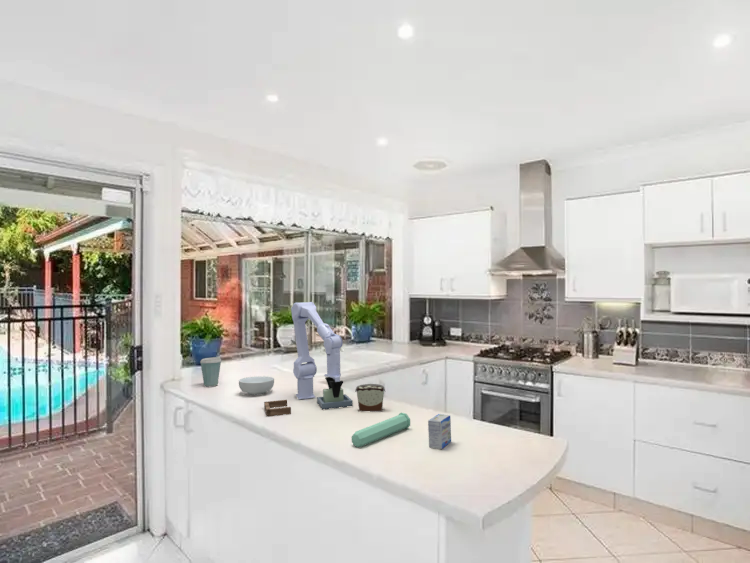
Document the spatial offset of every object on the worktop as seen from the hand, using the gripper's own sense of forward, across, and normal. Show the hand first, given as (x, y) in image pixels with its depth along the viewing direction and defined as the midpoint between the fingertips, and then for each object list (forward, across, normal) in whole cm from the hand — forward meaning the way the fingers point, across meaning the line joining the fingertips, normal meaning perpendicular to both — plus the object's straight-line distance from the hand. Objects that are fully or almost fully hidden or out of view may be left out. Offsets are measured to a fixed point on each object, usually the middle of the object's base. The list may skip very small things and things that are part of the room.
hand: (334, 395), depth 192 cm
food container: (+4, +14, +12) cm, 19 cm away
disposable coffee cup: (+4, -64, -52) cm, 82 cm away
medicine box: (+4, +60, +20) cm, 64 cm away
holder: (+4, 0, -24) cm, 25 cm away
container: (+4, +46, +5) cm, 47 cm away
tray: (+4, 0, 0) cm, 4 cm away
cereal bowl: (+4, -36, -30) cm, 47 cm away
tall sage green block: (+3, 0, 0) cm, 3 cm away
